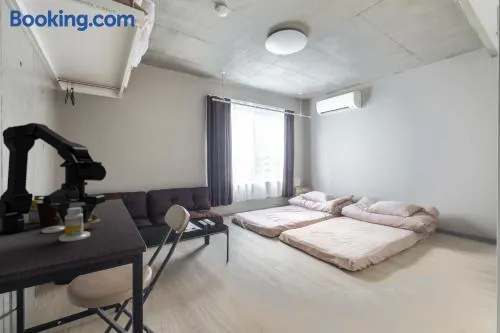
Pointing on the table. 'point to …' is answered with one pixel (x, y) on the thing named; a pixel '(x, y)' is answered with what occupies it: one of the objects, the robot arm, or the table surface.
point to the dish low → (68, 239)
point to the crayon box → (34, 210)
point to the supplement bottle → (74, 222)
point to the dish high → (53, 229)
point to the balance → (93, 220)
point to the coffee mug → (47, 215)
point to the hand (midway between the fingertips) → (74, 222)
